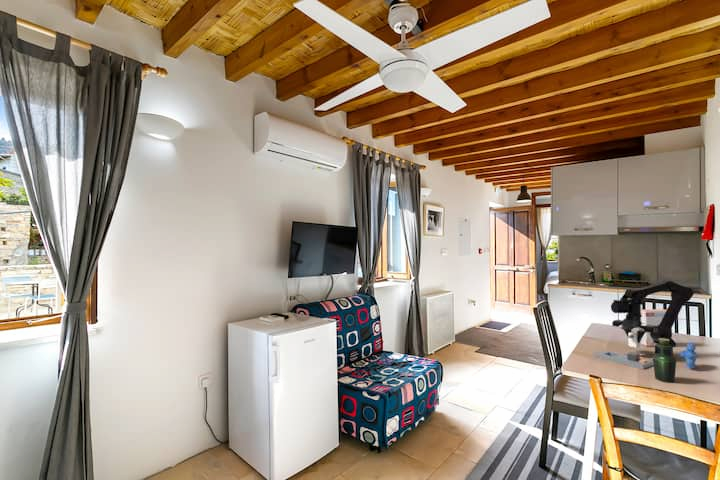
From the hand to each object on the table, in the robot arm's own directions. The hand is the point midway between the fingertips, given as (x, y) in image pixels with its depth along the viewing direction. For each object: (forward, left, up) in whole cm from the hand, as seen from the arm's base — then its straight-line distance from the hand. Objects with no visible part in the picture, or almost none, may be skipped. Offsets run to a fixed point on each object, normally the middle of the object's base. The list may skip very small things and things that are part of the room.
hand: (634, 342), depth 190 cm
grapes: (-21, -3, -8) cm, 23 cm away
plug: (0, +1, -2) cm, 2 cm away
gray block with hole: (0, +13, -8) cm, 15 cm away
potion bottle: (-22, +25, -8) cm, 34 cm away
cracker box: (+3, -32, -8) cm, 33 cm away
